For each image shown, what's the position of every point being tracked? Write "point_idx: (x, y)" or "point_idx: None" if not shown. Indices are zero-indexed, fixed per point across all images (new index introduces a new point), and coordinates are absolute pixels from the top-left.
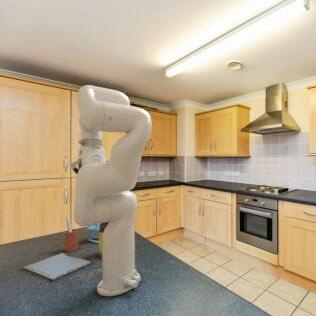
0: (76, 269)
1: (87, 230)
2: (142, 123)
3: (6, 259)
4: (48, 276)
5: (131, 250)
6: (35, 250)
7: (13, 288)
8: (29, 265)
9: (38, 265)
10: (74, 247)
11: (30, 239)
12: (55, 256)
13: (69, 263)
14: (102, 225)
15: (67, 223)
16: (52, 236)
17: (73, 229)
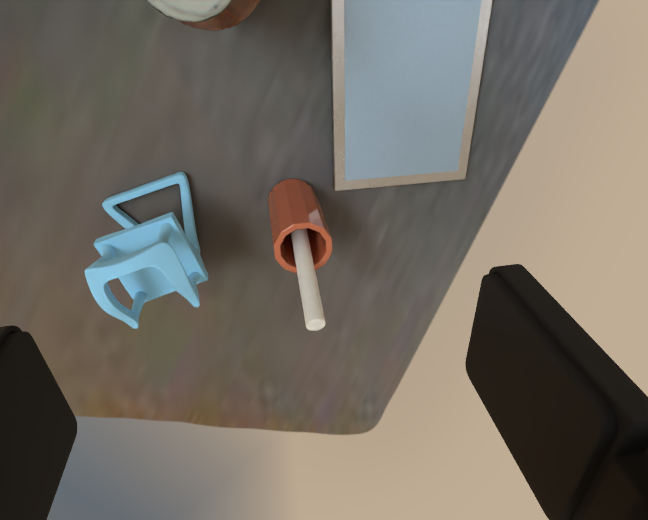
0: None
1: (203, 264)
2: None
3: (432, 311)
4: None
5: None
6: (356, 317)
7: (561, 30)
8: (450, 174)
9: (442, 140)
10: (292, 185)
11: (314, 428)
12: (369, 174)
13: (387, 27)
14: None
15: (318, 290)
16: (260, 408)
17: (284, 264)
